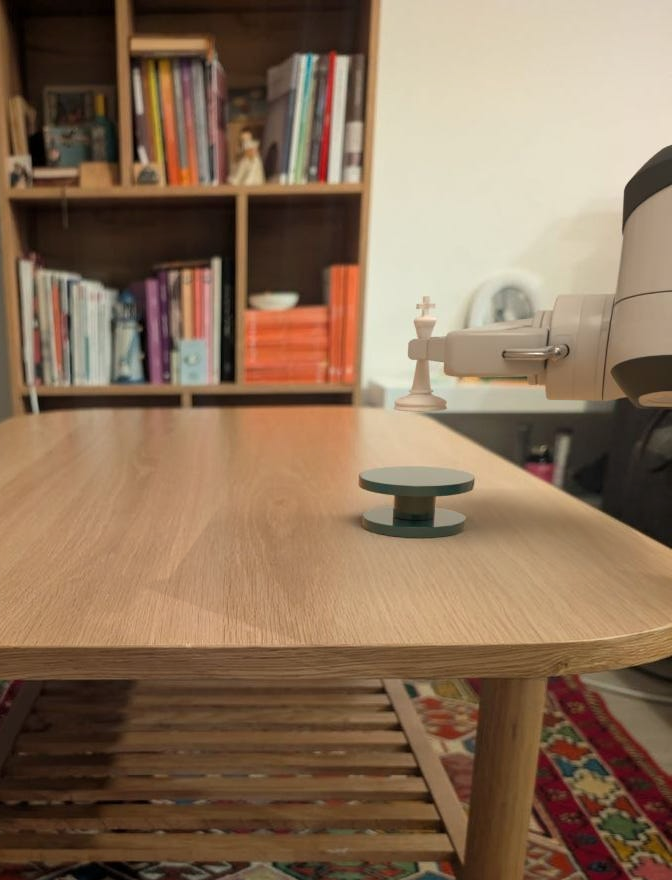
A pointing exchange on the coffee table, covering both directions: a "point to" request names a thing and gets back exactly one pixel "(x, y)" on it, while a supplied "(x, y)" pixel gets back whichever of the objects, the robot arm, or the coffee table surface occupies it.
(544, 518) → the coffee table surface
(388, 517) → the stand
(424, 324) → the chess piece
